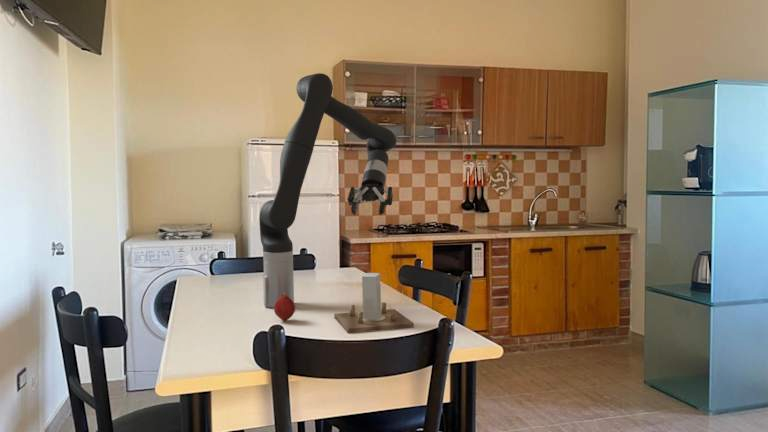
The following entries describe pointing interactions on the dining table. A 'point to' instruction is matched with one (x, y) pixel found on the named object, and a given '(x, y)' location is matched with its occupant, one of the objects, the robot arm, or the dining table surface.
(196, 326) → the dining table surface
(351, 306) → the standoff plate
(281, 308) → the onion
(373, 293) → the skincare box
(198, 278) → the dining table surface
